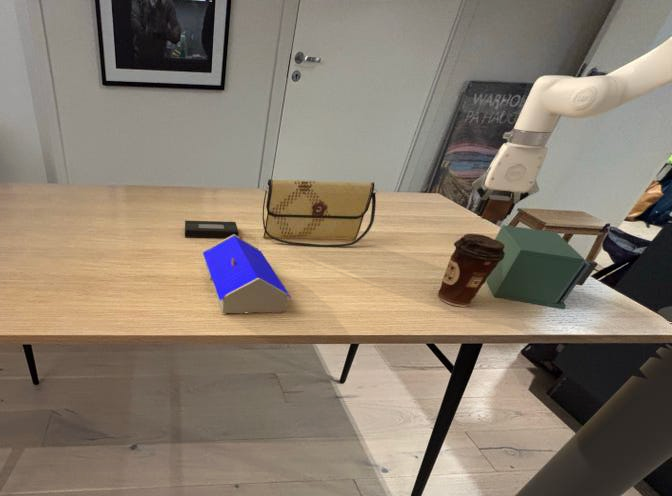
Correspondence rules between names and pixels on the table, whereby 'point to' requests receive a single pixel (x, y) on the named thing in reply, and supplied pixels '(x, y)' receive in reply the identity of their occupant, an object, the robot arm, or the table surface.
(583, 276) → the dark grey slanted bar
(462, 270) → the coffee cup
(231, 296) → the roof
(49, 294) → the table surface
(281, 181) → the clutch purse
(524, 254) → the cabinet
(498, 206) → the walnut block
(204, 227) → the vhs tape
